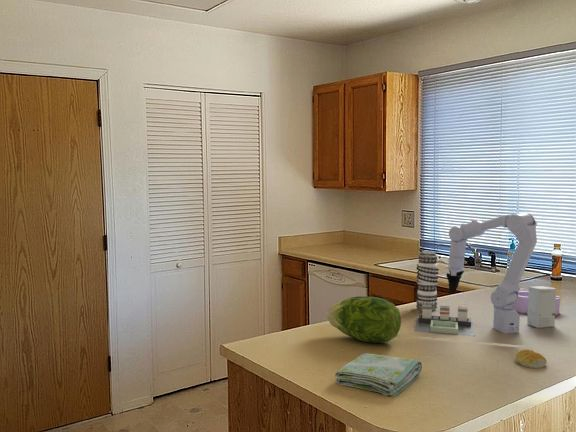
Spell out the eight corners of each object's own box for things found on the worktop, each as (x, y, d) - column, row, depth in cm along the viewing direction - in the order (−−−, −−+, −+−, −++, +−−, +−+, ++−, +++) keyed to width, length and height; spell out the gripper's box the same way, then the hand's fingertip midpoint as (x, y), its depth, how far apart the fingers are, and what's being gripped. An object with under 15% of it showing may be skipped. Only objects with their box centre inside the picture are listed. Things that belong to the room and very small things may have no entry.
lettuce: (336, 329, 204) (336, 288, 203) (406, 340, 191) (407, 296, 190) (318, 339, 192) (318, 295, 190) (392, 352, 178) (393, 305, 177)
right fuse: (467, 325, 207) (467, 309, 206) (457, 325, 208) (458, 308, 207) (466, 323, 210) (467, 307, 210) (457, 322, 211) (457, 306, 211)
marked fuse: (449, 324, 209) (449, 308, 208) (439, 323, 210) (439, 307, 209) (449, 322, 212) (449, 306, 212) (439, 321, 213) (440, 305, 213)
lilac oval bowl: (560, 311, 234) (560, 295, 234) (557, 317, 224) (558, 300, 223) (510, 305, 244) (510, 289, 244) (505, 310, 234) (505, 294, 233)
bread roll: (531, 358, 174) (532, 345, 174) (551, 367, 166) (551, 354, 165) (508, 359, 172) (508, 347, 172) (526, 369, 164) (527, 356, 163)
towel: (332, 385, 152) (332, 367, 151) (366, 363, 169) (366, 347, 169) (394, 400, 141) (394, 381, 141) (423, 375, 159) (423, 358, 159)
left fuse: (431, 323, 211) (431, 307, 210) (422, 322, 212) (422, 306, 211) (431, 320, 214) (431, 305, 213) (422, 320, 215) (422, 304, 214)
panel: (474, 338, 194) (475, 330, 194) (413, 333, 200) (414, 326, 200) (472, 324, 212) (472, 317, 212) (416, 319, 218) (417, 313, 218)
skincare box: (537, 328, 207) (539, 289, 206) (526, 324, 213) (527, 286, 212) (555, 326, 209) (557, 288, 208) (543, 322, 215) (545, 284, 214)
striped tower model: (410, 310, 233) (412, 251, 231) (423, 306, 240) (425, 249, 238) (429, 314, 227) (430, 254, 225) (442, 310, 233) (443, 252, 231)
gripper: (448, 251, 225) (445, 284, 227) (444, 258, 212) (440, 292, 214) (466, 254, 223) (463, 286, 224) (463, 260, 209) (459, 295, 211)
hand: (453, 289), depth 219 cm, fingers open, 7 cm apart
